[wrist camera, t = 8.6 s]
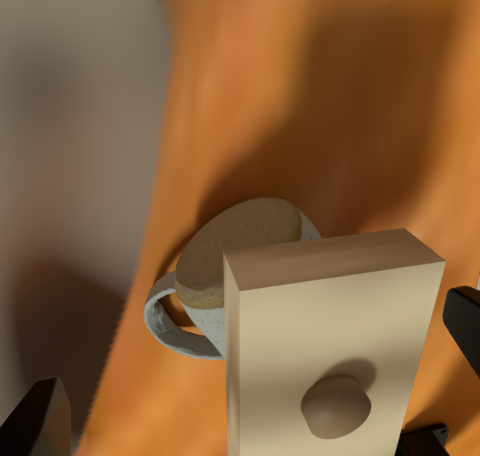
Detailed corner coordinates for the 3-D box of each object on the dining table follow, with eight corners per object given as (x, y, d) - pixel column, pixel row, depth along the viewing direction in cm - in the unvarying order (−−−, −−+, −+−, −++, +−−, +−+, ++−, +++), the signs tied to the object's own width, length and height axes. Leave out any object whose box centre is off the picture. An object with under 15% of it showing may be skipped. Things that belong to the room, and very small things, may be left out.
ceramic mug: (270, 165, 22) (330, 236, 15) (335, 267, 26) (404, 357, 19) (108, 278, 23) (98, 391, 16) (195, 358, 27) (216, 474, 20)
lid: (364, 423, 21) (401, 485, 18) (227, 454, 20) (244, 527, 17) (404, 228, 16) (463, 274, 13) (223, 250, 14) (246, 308, 12)
